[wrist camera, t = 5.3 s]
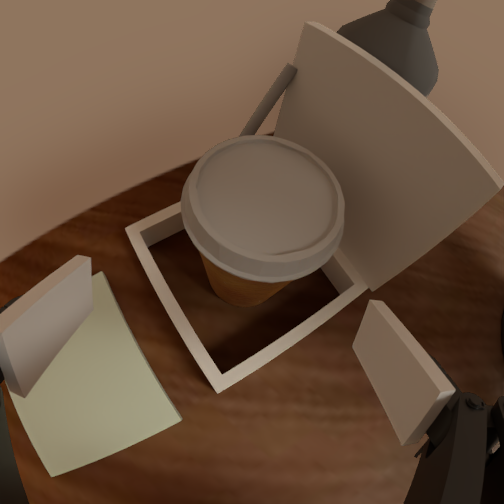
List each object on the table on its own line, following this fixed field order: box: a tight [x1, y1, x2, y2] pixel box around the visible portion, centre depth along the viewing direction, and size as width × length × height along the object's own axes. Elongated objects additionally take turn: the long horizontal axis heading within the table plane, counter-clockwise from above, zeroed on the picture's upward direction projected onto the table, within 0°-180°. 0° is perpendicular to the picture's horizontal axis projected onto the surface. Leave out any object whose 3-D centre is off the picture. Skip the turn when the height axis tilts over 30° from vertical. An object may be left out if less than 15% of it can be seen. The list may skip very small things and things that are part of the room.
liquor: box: [336, 0, 438, 98], centre depth 21 cm, size 9×9×30 cm
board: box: [5, 271, 183, 477], centre depth 19 cm, size 14×14×1 cm
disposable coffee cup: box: [181, 135, 345, 307], centre depth 21 cm, size 10×10×12 cm
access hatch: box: [125, 22, 504, 394], centre depth 18 cm, size 16×16×18 cm
